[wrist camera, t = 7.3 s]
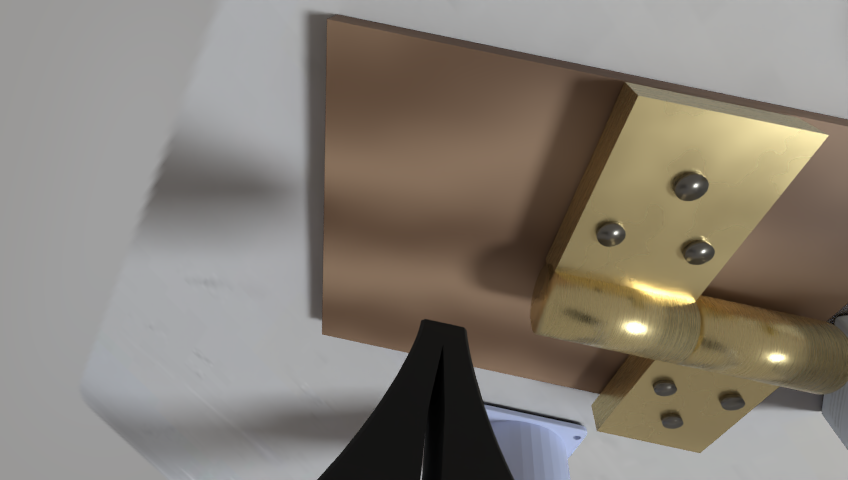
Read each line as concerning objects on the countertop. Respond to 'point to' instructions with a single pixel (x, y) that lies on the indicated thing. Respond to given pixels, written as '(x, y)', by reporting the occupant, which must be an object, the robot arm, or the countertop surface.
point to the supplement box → (838, 399)
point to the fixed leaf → (721, 375)
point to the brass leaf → (662, 218)
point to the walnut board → (514, 198)
